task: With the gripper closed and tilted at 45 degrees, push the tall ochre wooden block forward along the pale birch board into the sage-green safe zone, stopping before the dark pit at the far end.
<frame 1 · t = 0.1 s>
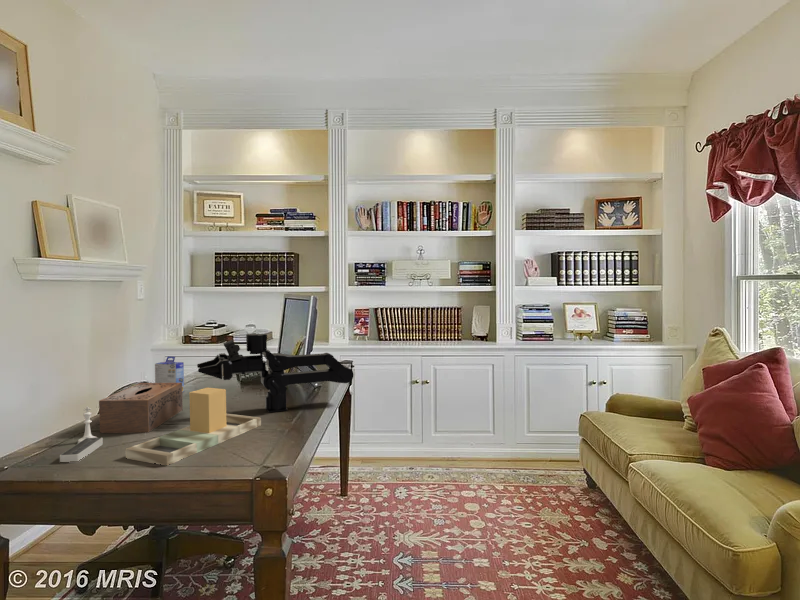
hand: (197, 368, 171), 17 cm above the table, fingers open, 9 cm apart
ink cartridge box: (170, 393, 210), on the table
multiport hub: (82, 455, 138), on the table
trap board: (199, 440, 148), on the table
chess piece: (87, 442, 147), on the table
tissue box cover: (144, 422, 169), on the table
ochre block: (208, 428, 151), point 2 cm above the table, touching trap board
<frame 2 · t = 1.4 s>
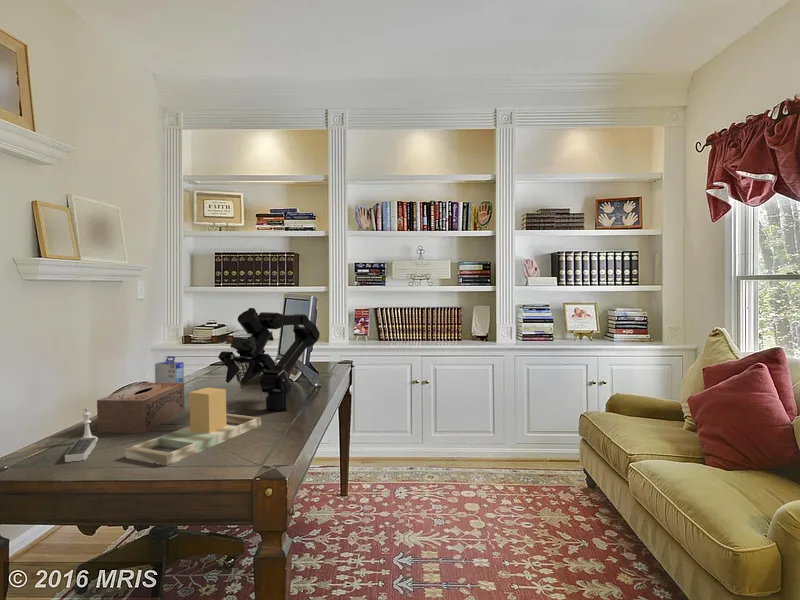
hand: (234, 382, 161), 14 cm above the table, fingers open, 6 cm apart
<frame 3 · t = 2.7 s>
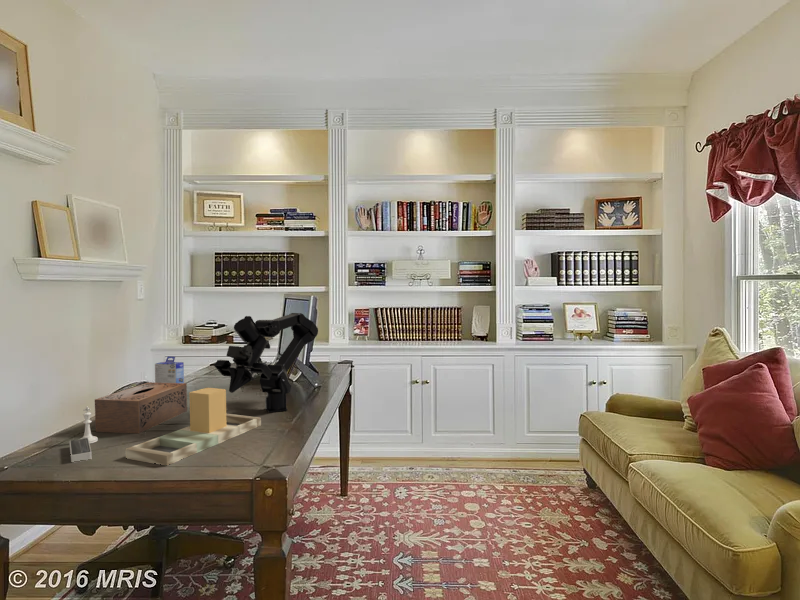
hand: (230, 391, 159), 11 cm above the table, fingers closed
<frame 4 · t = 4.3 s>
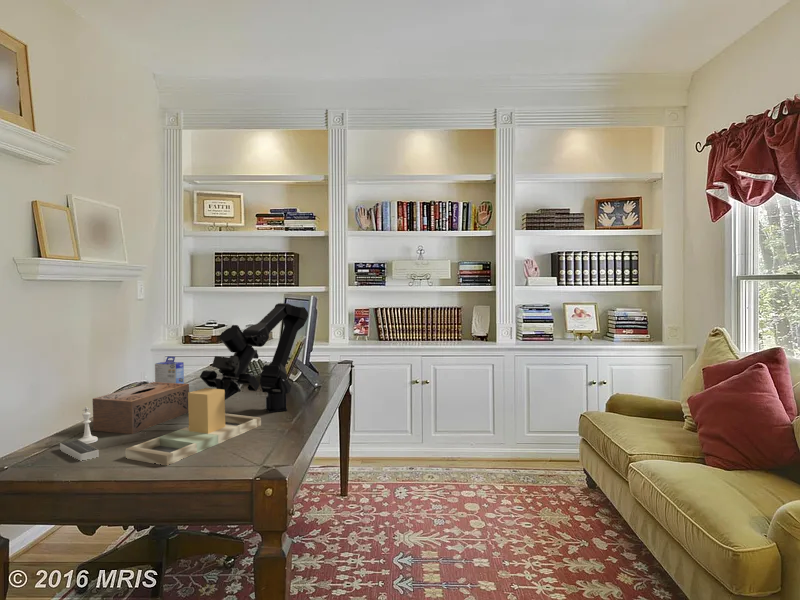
hand: (216, 404, 154), 9 cm above the table, fingers closed, pressing on ochre block
ochre block: (207, 428, 150), point 2 cm above the table, touching gripper, trap board
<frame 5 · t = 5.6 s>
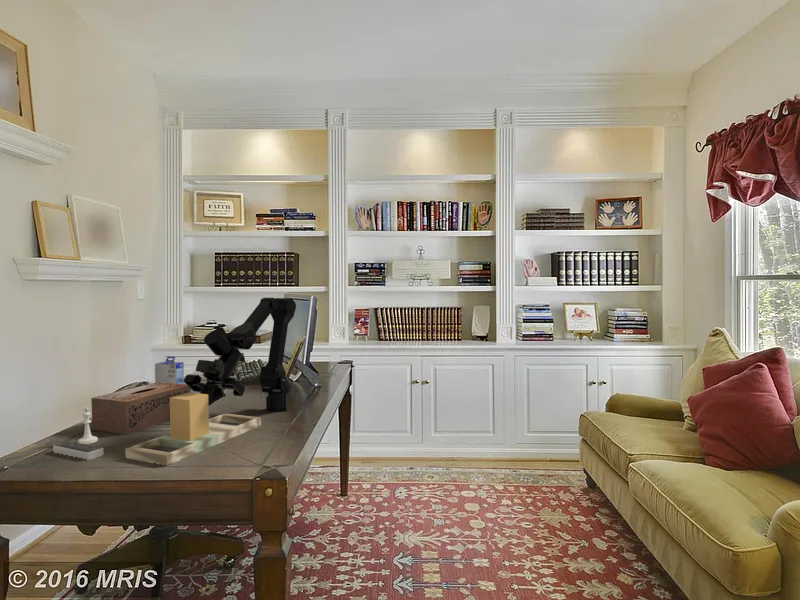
hand: (199, 409, 148), 9 cm above the table, fingers closed
ochre block: (190, 435, 144), point 2 cm above the table, touching trap board
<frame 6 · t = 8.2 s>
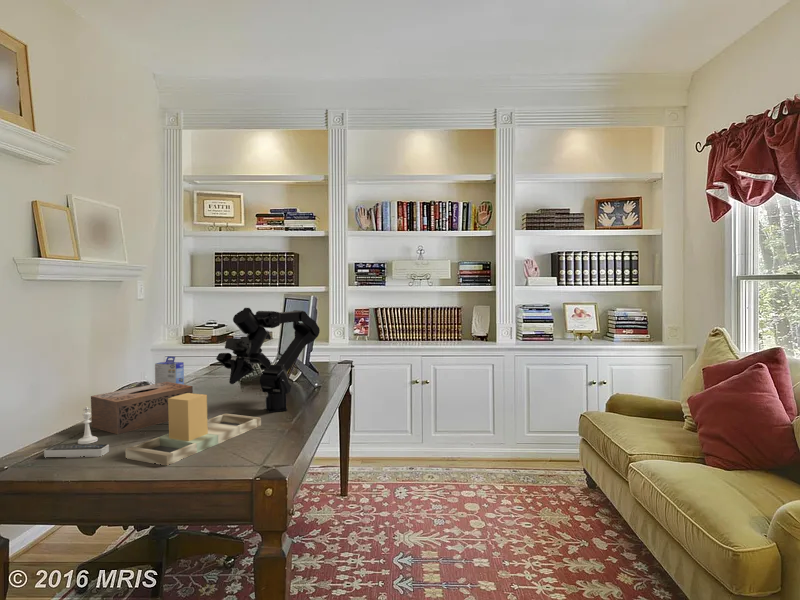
hand: (231, 383, 161), 13 cm above the table, fingers closed
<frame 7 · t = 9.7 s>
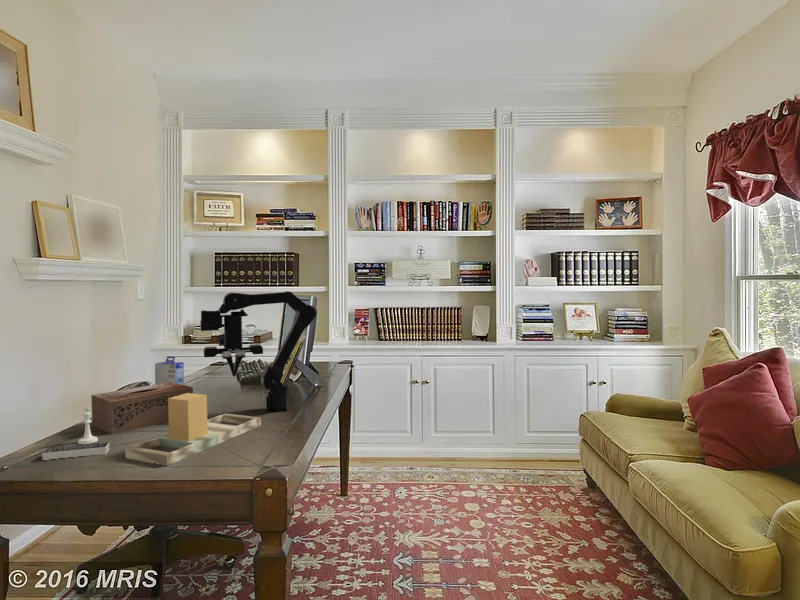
hand: (234, 375, 176), 13 cm above the table, fingers closed
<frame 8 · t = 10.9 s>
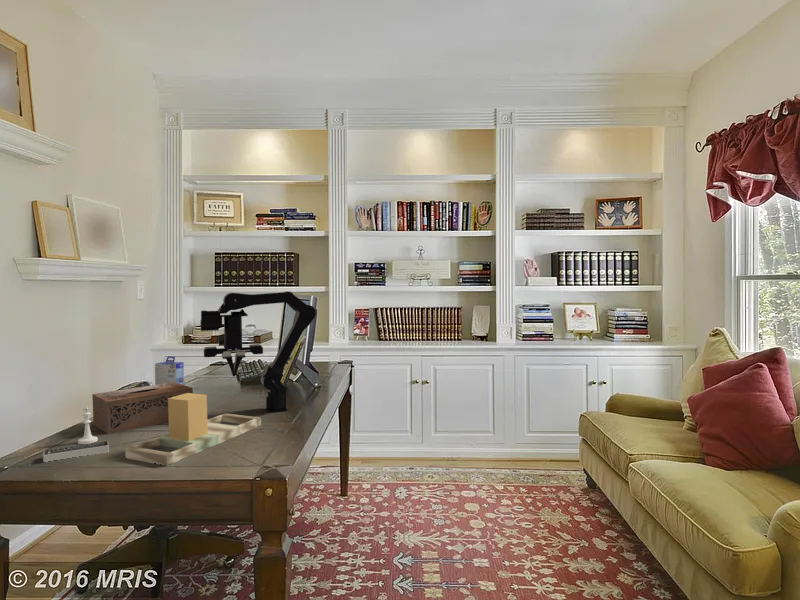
hand: (234, 376, 176), 13 cm above the table, fingers closed
at the end: ochre block 0.3 cm from the target spot, point 2.5 cm above the table; ochre block tilted 0° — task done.
